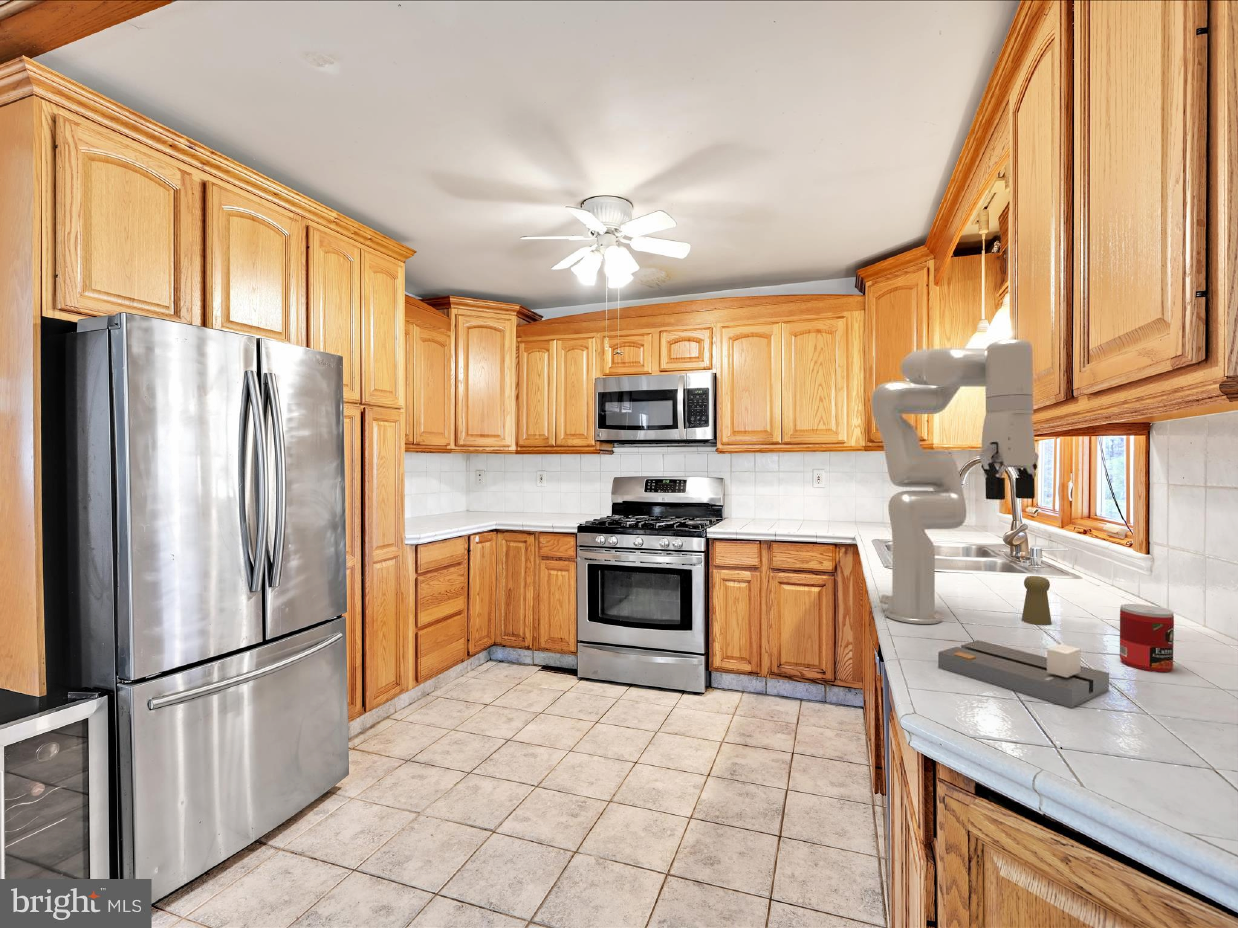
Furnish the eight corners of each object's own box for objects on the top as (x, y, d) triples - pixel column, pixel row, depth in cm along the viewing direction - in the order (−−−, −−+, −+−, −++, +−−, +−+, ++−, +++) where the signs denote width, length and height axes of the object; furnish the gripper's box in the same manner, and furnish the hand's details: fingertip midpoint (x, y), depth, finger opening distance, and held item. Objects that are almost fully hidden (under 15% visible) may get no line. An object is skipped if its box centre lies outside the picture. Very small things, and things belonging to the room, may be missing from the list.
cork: (1056, 625, 144) (1057, 579, 144) (1028, 624, 146) (1028, 578, 146) (1044, 619, 150) (1044, 574, 150) (1017, 617, 152) (1017, 573, 151)
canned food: (1159, 675, 112) (1160, 615, 112) (1110, 661, 120) (1110, 605, 119) (1182, 669, 115) (1183, 611, 115) (1132, 656, 123) (1133, 602, 123)
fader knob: (1046, 683, 105) (1047, 648, 105) (1060, 677, 107) (1060, 644, 107) (1066, 689, 102) (1067, 653, 102) (1080, 683, 105) (1080, 648, 105)
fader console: (938, 667, 116) (938, 650, 116) (977, 654, 124) (977, 639, 124) (1071, 708, 98) (1072, 688, 98) (1108, 690, 105) (1109, 671, 105)
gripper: (1014, 411, 122) (1015, 497, 121) (961, 406, 113) (962, 499, 113) (1055, 407, 115) (1057, 498, 115) (1003, 402, 107) (1004, 500, 106)
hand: (1010, 498), depth 114 cm, fingers open, 9 cm apart
